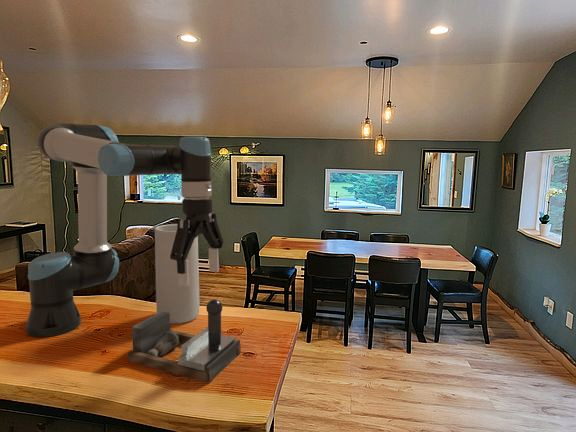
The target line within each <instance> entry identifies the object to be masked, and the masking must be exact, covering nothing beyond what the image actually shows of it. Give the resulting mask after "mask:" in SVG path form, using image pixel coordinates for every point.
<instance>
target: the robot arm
mask: <svg viewBox="0 0 576 432" xmlns="http://www.w3.org/2000/svg"><path fill="white" fill-rule="evenodd" d="M36 138H37V139H36V143H37V147H38V149H39V152H40V153H41V154H42V155H43V156H44V157H46V158H47V159H50V160H52V161H56V162H61V163H62V162H63V163H64V162H71V165H72V168H73V169H74V170H75V171H76V172H77V204H78V206H77V207H78V208H77V210H78V211H77V214H78V215H77V217H78V221H77V222H78V242H77V244H76V245H74V247H73V254H71V253H69V252H66V251H57V252H51V253H46V254H43V255H40V256H37V257H35V258H33V260H31V261H30V262H29V264H28V265H27V266H28V267H27V268H28V272H27V279H28V285H29V297H30V299H29V300H30V310H29V314H28V318H27V321H26V324H25V330H26V334H27V335H29V336H31V337H35V338H37V337H38V338H45V337H46V338H47V337H53V336H54V337H55V336H58V335H63V334H65V333H69V332H72V331H73V330H75V329H77V328H78V327H79V326H80V325H81V323H82V321H81V320H82V319H81V318H82V317H81V314H80V312H79V310H78V307H77V306H76V303H75V302H74V291H77V290H81V289H85V288H89V287H93V286H97V285H103V284H104V283H107V282H110V281H112V280H113V279H114V278H115V277H116V276H117V274H118V272H119V269H120V258H119V257H118V253H117V251H116V250H115V249H113V248H112V246H113V245H112V244H110V243H109V242H108V189H107V188H108V176H109V177H111V176H112V177H119V178H120V177H126V176H151V175H152V176H153V175H154V176H155V175H156V176H158V175H161V176H162V175H181V176H180V177H181V178H180V180H181V181H180V183H181V184H180V185H181V186H180V187H181V197H182V198H183V199H182V200H181V204H182V206H181V207H182V208H181V209H182V213H183V214H184V215H185V219H178V220H177V222H176V224H177V232H176V236H175V240H174V243H173V247H172V251H171V255H170V259H173V260H176V261H177V272H178V282H179V285H180V286H187V287H188V286H190V285H189V260H186V258H187V256H188V253H189V251H190V248H191V246H192V244H193V241H194V239H195V238H196V237H197V236H198V237H199V235H201V234H202V236H203V237H204V238H205V240H206V242H207V243H208V245H209V246H210V247H209V248H208V271H209V272H213V273H219V272H220V270H219V269H220V264H219V263H220V261H219V260H220V259H219V258H220V257H219V256H220V255H219V254H220V252H219V250H220V249H222V247H223V244H224V238H223V237H222V234H221V231H220V228H219V224H218V221H217V214H216V213H213V199H212V198H210V197H212V196H213V195H212V193H213V192H212V189H213V188H212V151H211V150H212V149H211V143H210V140H209V138H207V137H205V136H182V137H180V139H179V144H178V145H158V144H157V145H156V144H155V145H153V144H151V145H150V144H149V145H148V144H131V143H123V142H120V141H119V139H118V137H117V135H116V134H115V131H114V130H113V129H111V128H109V126H108V127H107V126H103V125H98V124H86V123H85V124H84V123H83V124H81V123H69V122H56V123H52V124H49V125H47V126H45V127H43V128H42V129H41V130H40V132H39V133H38V135H37V137H36ZM189 231H190V232H189ZM175 254H176V255H175ZM182 254H183V256H182Z"/></svg>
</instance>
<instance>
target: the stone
mask: <svg viewBox="0 0 576 432" xmlns="http://www.w3.org/2000/svg"><path fill="white" fill-rule="evenodd" d="M179 343H180V342H179V339H178V336H177V334H175V333H173V332H169V331H167V332H164V333H163V334H162V336H161V337H160V338H159V340H158V341H157V342H156V344H155V345H154V347H153V348H152V349H151V350H149V351H148V352H147V354H149V355H153V356H157V357H161V356H165V355H167V353H168V352H170V351H171V350H174V349H176V348H177V347H178V345H179Z"/></svg>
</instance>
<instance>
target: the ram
mask: <svg viewBox="0 0 576 432" xmlns="http://www.w3.org/2000/svg"><path fill="white" fill-rule="evenodd" d="M222 311H223V304H222V302H221V301H220V300H218V299H214V298H213V299H211V300H210V301H208V302H207V305H206V312H207V326H206V328H203V330H201V331H199V332H198V333H196V335H195V334H194V335H195V336H194V337H193V338H191V339H190V340H188V341H187V342H186V343H182V344H181V346H180V347H181V355H180V356H178V357H177V362H178V365H182V366H186V367H190V368H193V369H197V370H201V371H205V370H206V367H207V366H208V365H209V364H210V363H212V362H213V361H214V360H215V359H216V358H217V357H218V356H220V355H221V354H222V353H223V352H224V351H225V350H226V349H228V348H229V347H230V346H231V345H232V344H233V343H234V342H236V341H237V337H236V336H232V335H231V336H230V335H227V334H222Z"/></svg>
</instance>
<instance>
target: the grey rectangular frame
mask: <svg viewBox="0 0 576 432" xmlns="http://www.w3.org/2000/svg"><path fill="white" fill-rule="evenodd" d="M170 325H171V324H170V318H169V313H167V312H162V311H161V312H159V313H157V312H156V313H155V314H154V315H151V316H150V317H148V318H146V319H144V320H142V321H141V322H138V323H137V324H135V325H133V326H132V327H131V335H132V349H131V350H130V351H128V352H127V362H130V363H133V364H136V365H141V366H145V367H147V368H153V369H156V370H159V371H164V372H166V373H167V372H168V373H170V374H174V375H178V376H181V377H185V378H189V379H193V380H196V381H200V382H205V383H207V384H210V383H212V381H213V380H214V379H215V378H217V376H218V375H219V374H220V373H221V372H222V371H223V370H224V369H225V368H227V367H228V366H229V364H231V363H232V362H233V361H234V360H235V359H236V358H237V357H238V356H240V355H241V349H242V347H241V340H240V339H236V342H234V343H233V344H232V345H231V346H230V347H229V348H228V349H226V350H225V351H224V352H223V353H222V354H221V355H220V356H218V357H217V358H216V359H215V360H214V361H213V362H212V363H210V364H209V365H208V366H207V367H206V370H205V371H201V370H197V369H193V368H190V367H186V366H182V365H178V361H176V360H172V359H169V358H164V357H161V356H153V355H149V354H147V352H148V351H149V350H151V349H152V348H153V347H154V345H155V344H156V342H157V341H158V340H159V338H160V337H161V336H162V334H163V333H164V332H167V331H169V332H173V333H175V334H177V336H178V339H179V343H181V344H184V343H186V342H187V341H188V340H190V339H191V338H193V337H194V336H195V334H191V333H187V332H181V331H178V330H172V329H171V326H170Z"/></svg>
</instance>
